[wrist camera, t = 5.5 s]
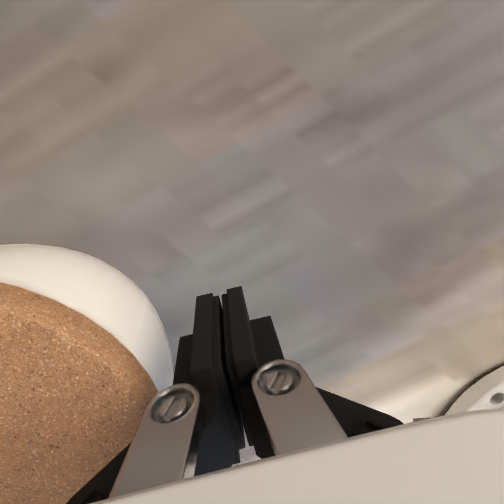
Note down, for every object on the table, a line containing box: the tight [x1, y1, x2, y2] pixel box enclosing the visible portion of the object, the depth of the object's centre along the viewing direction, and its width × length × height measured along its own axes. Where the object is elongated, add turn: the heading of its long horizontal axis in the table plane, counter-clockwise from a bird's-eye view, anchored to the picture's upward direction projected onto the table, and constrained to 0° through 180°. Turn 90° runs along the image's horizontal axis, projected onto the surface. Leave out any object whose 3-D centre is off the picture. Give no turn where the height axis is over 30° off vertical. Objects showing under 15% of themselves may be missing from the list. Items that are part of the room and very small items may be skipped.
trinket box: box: [0, 244, 173, 504], centre depth 12 cm, size 11×11×9 cm
